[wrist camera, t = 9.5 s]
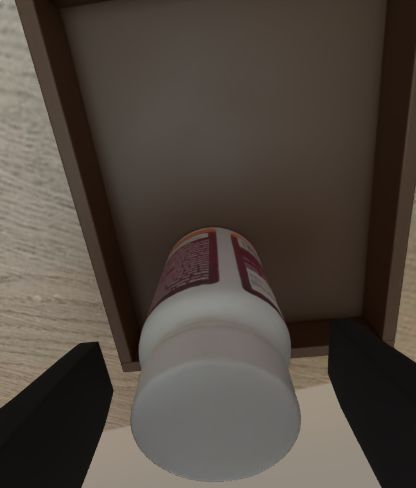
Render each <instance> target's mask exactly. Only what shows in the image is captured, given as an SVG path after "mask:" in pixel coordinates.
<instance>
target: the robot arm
mask: <svg viewBox="0 0 416 488" xmlns="http://www.w3.org/2000/svg"><path fill="white" fill-rule="evenodd" d="M328 375H329V377H330V380H331V383H332V386H333V388H334V391H335V394H336V396H337V399H338V401H339V404H340V407H341V409H342V411H343V413H344V415H345V417H346V418H347V421H348V422H349V425H350V427H351V429H352V431H353V433H354V435H355V437H356V438H357V441H358V442H359V444H360V446H361V448H362V450H363V452H364V454H365V456H366V458H367V460H368V462H369V464H370V466H371V468H372V470H373V472H374V474H375V476H376V477H377V480H378V482H379V483H380V485H381V487H382V488H416V363H415V362H414V361H412V360H411V359H409V358H408V357H406V356H405V355H403V354H402V353H400V352H399V351H397V350H396V349H394V348H393V347H392V346H390V345H389V344H387V343H386V342H384V341H383V340H381V339H380V338H378V337H377V336H375V335H374V334H373V333H371V332H370V331H368V330H367V329H365V328H364V327H362V326H361V325H359V324H358V323H356V322H355V321H353V320H352V319H339V320H330V321H329V353H328ZM113 391H114V390H113V387H112V384H111V380H110V377H109V374H108V371H107V368H106V364H105V361H104V358H103V355H102V352H101V349H100V345H99V342H88V343H80V344H78V345H77V346H75V347H74V348H73V349H72V350H70V351H69V352H68V353H67V354H65V355H64V356H63V357H62V358H61V359H59V360H58V361H57V362H56V363H55V364H53V365H52V366H51V367H50V368H49V369H48V370H46V371H45V372H44V373H43V374H42V375H40V376H39V377H38V378H37V379H36V380H35V381H33V382H32V383H31V384H30V385H29V386H27V387H26V388H25V389H24V390H23V391H21V392H20V393H19V394H18V395H17V396H15V397H14V398H13V399H12V400H10V401H9V402H8V403H7V404H5V405H4V406H3V407H2V408H0V488H81V487H82V484H83V482H84V479H85V476H86V474H87V471H88V469H89V466H90V464H91V461H92V458H93V456H94V453H95V450H96V448H97V445H98V442H99V440H100V437H101V434H102V432H103V429H104V426H105V423H106V419H107V416H108V412H109V408H110V404H111V400H112V395H113Z"/></svg>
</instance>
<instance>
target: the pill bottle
mask: <svg viewBox="0 0 416 488" xmlns="http://www.w3.org/2000/svg"><path fill="white" fill-rule="evenodd" d="M290 358H291V340H290V335H289V331H288V328H287V325H286V323H285V321H284V318H283V316H282V314H281V311H280V309H279V307H278V304H277V302H276V299H275V297H274V295H273V292H272V290H271V287H270V285H269V282H268V279H267V277H266V275H265V272H264V269H263V267H262V264H261V261H260V259H259V256H258V254H257V252H256V251H255V249H254V247H253V246H252V245H251V243H250V242H249V241H248V240H246V239H245V238H244V237H243V236H241V235H239V234H238V233H236V232H233V231H231V230H228V229H223V228H219V227H209V228H203V229H199V230H196V231H193V232H191V233H189V234H188V235H186V236H184V237H183V238H182V239H181V240H180V241H178V242H177V244H176V245H175V246H174V247H173V249H172V250H171V252H170V254H169V256H168V259H167V262H166V264H165V267H164V270H163V273H162V276H161V279H160V282H159V284H158V287H157V290H156V293H155V296H154V299H153V301H152V304H151V307H150V310H149V313H148V315H147V318H146V321H145V323H144V326H143V329H142V333H141V337H140V342H139V361H140V366H141V372H140V375H139V381H138V385H137V389H136V393H135V396H134V400H133V404H132V408H131V418H130V422H131V430H132V434H133V436H134V439H135V441H136V443H137V445H138V447H139V448H140V450H141V451H142V452H143V453H144V454H145V455H146V457H148V458H149V459H150V460H151V461H152V462H153V463H154V464H156V465H158V466H159V467H161V468H163V469H164V470H166V471H168V472H170V473H173V474H175V475H177V476H180V477H183V478H187V479H191V480H197V481H206V482H224V481H232V480H238V479H243V478H247V477H251V476H253V475H256V474H258V473H260V472H263V471H265V470H267V469H269V468H270V467H272V466H273V465H274V464H276V463H277V462H279V461H280V460H281V459H282V458H283V457H284V456H285V455H286V454H287V453H288V452H289V451H290V449H291V448H292V447H293V445H294V443H295V441H296V440H297V437H298V434H299V431H300V425H301V415H300V408H299V404H298V401H297V397H296V394H295V390H294V387H293V384H292V381H291V377H290V374H289V370H288V368H289V364H290Z"/></svg>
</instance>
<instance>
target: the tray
mask: <svg viewBox="0 0 416 488" xmlns="http://www.w3.org/2000/svg"><path fill="white" fill-rule="evenodd" d="M15 2H16V6H17V9H18V13H19V16H20V20H21V23H22V26H23V30H24V33H25V37H26V40H27V44H28V47H29V50H30V54H31V57H32V61H33V64H34V68H35V71H36V74H37V78H38V81H39V85H40V88H41V92H42V95H43V98H44V102H45V105H46V109H47V112H48V115H49V119H50V122H51V126H52V129H53V133H54V136H55V139H56V143H57V146H58V150H59V153H60V157H61V160H62V163H63V167H64V170H65V174H66V177H67V181H68V184H69V187H70V191H71V194H72V198H73V201H74V205H75V208H76V211H77V215H78V218H79V222H80V225H81V228H82V232H83V235H84V239H85V242H86V246H87V249H88V252H89V256H90V259H91V263H92V266H93V270H94V273H95V276H96V280H97V283H98V287H99V290H100V294H101V297H102V300H103V304H104V307H105V311H106V314H107V318H108V321H109V324H110V328H111V331H112V335H113V338H114V342H115V345H116V348H117V352H118V355H119V359H120V362H121V365H122V369H123V372H133V371H141V366H140V361H139V342H140V337H141V333H142V329H143V326H144V323H145V321H146V318H147V315H148V313H149V310H150V307H151V304H152V301H153V299H154V296H155V293H156V290H157V287H158V284H159V282H160V279H161V276H162V273H163V270H164V267H165V264H166V262H167V259H168V256H169V254H170V252H171V250H172V249H173V247H174V246H175V245H176V244H177V242H178V241H180V240H181V239H182V238H183V237H184V236H186V235H188V234H189V233H191V232H193V231H196V230H199V229H203V228H209V227H219V228H223V229H228V230H231V231H233V232H236V233H238V234H239V235H241V236H243V237H244V238H245V239H246V240H248V241H249V242H250V243H251V245H252V246H253V247H254V249H255V251H256V252H257V254H258V256H259V259H260V261H261V264H262V267H263V269H264V272H265V275H266V277H267V279H268V282H269V285H270V287H271V290H272V292H273V295H274V297H275V299H276V302H277V304H278V307H279V309H280V311H281V314H282V316H283V318H284V321H285V323H286V325H287V328H288V331H289V335H290V340H291V358H300V357H312V356H324V355H328V353H329V321H330V320H339V319H352V320H353V321H355V322H356V323H358V324H359V325H361V326H362V327H364V328H365V329H367V330H368V331H370V332H371V333H373V334H374V335H375V336H377V337H378V338H380V339H381V340H383V341H384V342H386V343H387V344H389V345H390V346H392V347H393V348H394V343H395V340H394V339H395V336H396V328H397V320H398V313H399V305H400V298H401V290H402V283H403V275H404V268H405V260H406V253H407V245H408V237H409V230H410V222H411V215H412V207H413V200H414V192H415V185H416V0H15Z"/></svg>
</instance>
